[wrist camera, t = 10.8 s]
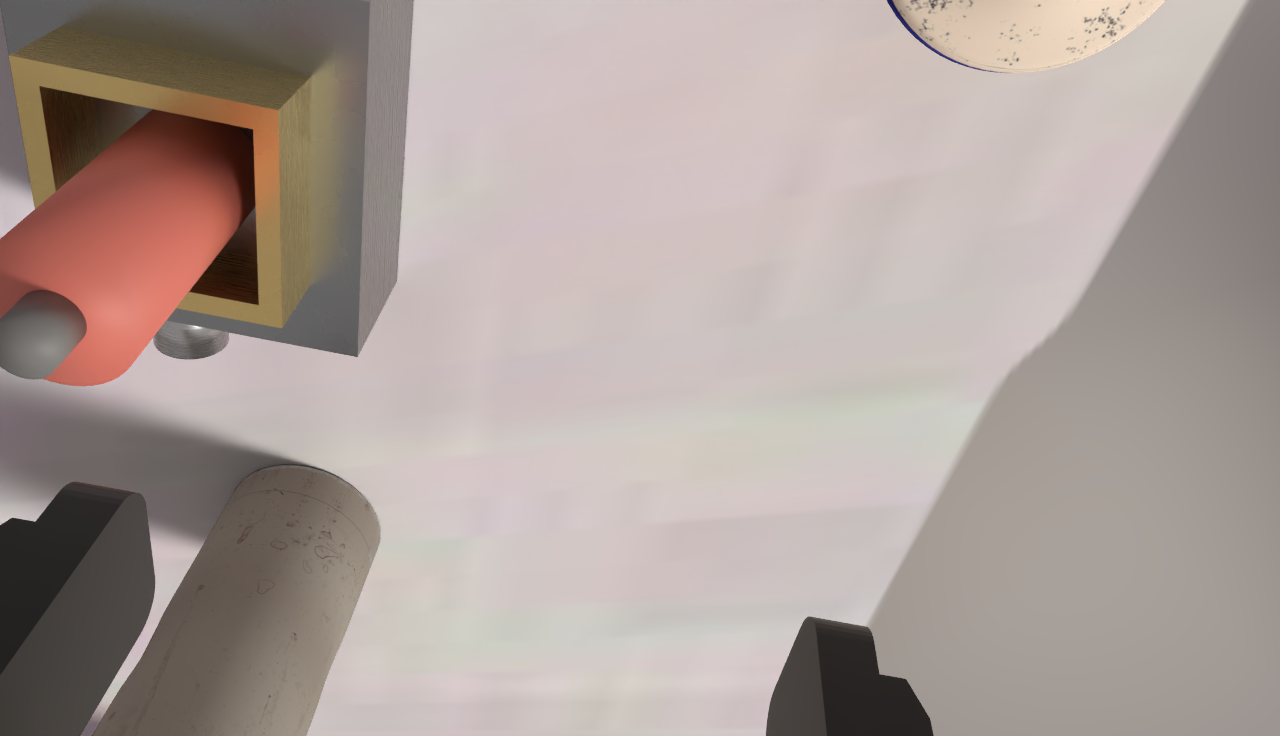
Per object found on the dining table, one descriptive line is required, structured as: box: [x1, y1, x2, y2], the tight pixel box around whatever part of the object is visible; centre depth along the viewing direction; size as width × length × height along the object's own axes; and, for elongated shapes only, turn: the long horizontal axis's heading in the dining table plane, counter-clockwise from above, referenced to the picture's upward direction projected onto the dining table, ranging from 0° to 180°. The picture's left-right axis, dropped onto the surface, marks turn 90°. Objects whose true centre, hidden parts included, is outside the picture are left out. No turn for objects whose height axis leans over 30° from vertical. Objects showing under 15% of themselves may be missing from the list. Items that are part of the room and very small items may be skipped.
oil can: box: [0, 109, 256, 386], centre depth 31 cm, size 5×5×12 cm
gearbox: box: [0, 0, 413, 359], centre depth 38 cm, size 17×12×9 cm
